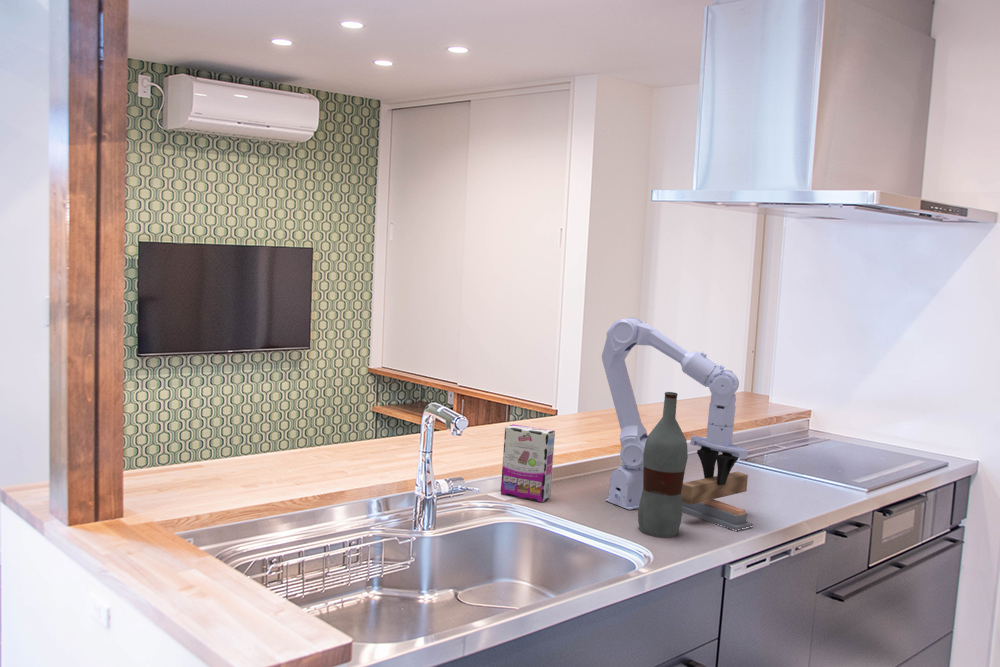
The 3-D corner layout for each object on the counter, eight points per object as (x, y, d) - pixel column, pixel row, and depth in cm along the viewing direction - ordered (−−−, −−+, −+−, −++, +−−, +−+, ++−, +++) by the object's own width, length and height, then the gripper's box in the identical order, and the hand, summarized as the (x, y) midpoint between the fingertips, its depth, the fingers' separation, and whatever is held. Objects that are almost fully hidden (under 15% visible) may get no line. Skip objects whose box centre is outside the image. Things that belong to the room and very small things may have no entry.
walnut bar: (690, 504, 181) (691, 487, 181) (680, 500, 184) (681, 483, 183) (746, 491, 193) (747, 474, 193) (735, 487, 196) (737, 471, 195)
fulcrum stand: (735, 531, 180) (737, 513, 180) (672, 508, 194) (674, 491, 194) (752, 527, 184) (754, 510, 183) (689, 505, 198) (690, 488, 197)
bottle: (670, 523, 182) (682, 390, 179) (687, 538, 173) (701, 397, 170) (630, 523, 180) (642, 388, 177) (646, 538, 171) (659, 396, 168)
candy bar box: (550, 498, 195) (556, 430, 194) (543, 503, 191) (548, 433, 189) (508, 489, 200) (513, 423, 198) (499, 494, 195) (504, 426, 194)
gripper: (758, 429, 184) (752, 489, 185) (706, 416, 195) (701, 472, 196) (738, 431, 179) (732, 492, 181) (686, 418, 191) (681, 475, 192)
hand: (714, 482), depth 188 cm, fingers closed on walnut bar, 3 cm apart
